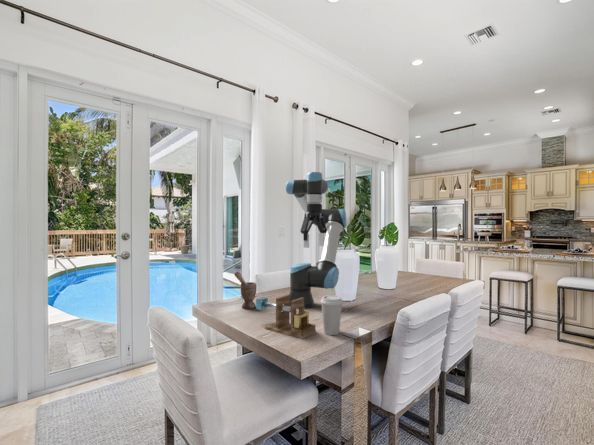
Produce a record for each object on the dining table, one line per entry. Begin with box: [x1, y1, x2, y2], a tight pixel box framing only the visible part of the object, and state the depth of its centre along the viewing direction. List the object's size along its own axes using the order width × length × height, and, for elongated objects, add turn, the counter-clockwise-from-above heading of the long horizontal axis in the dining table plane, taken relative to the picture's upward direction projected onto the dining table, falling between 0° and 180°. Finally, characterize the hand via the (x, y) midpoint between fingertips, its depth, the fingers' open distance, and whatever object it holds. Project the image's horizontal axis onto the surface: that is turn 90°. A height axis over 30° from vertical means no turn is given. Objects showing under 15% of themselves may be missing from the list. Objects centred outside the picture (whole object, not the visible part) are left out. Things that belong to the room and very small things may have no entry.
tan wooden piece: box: [294, 310, 310, 330], centre depth 131 cm, size 2×7×7 cm, turn 144°
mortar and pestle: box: [234, 271, 257, 310], centre depth 169 cm, size 12×9×20 cm
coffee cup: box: [320, 294, 344, 336], centre depth 132 cm, size 10×10×15 cm
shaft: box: [255, 296, 291, 314], centre depth 140 cm, size 20×5×5 cm, turn 54°
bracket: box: [264, 294, 317, 340], centre depth 135 cm, size 20×10×14 cm, turn 54°
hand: (314, 246), depth 154 cm, fingers open, 13 cm apart
